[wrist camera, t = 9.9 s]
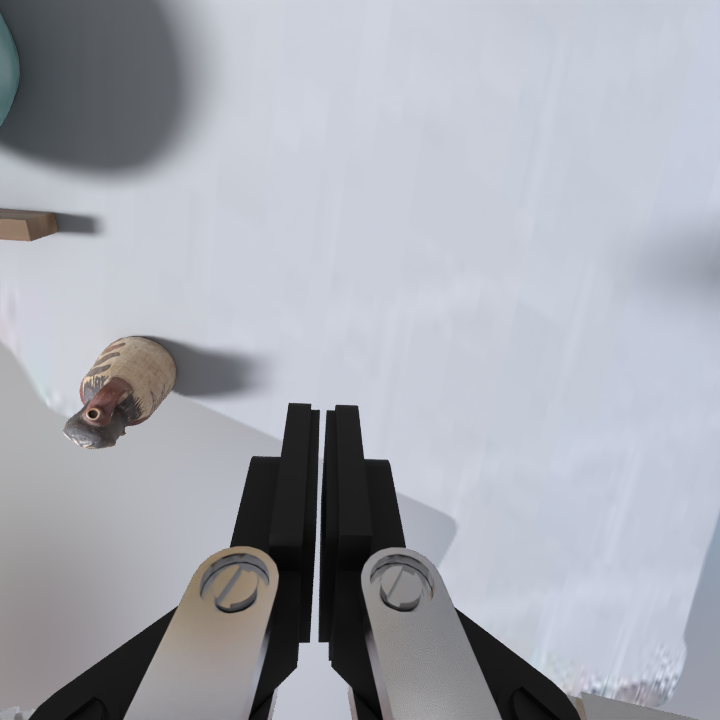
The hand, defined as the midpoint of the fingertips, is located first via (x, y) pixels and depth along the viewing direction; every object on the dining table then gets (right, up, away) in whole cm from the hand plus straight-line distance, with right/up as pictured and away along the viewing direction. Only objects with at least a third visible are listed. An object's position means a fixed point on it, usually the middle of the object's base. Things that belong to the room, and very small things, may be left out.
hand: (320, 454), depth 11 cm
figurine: (-21, +2, +34) cm, 40 cm away
